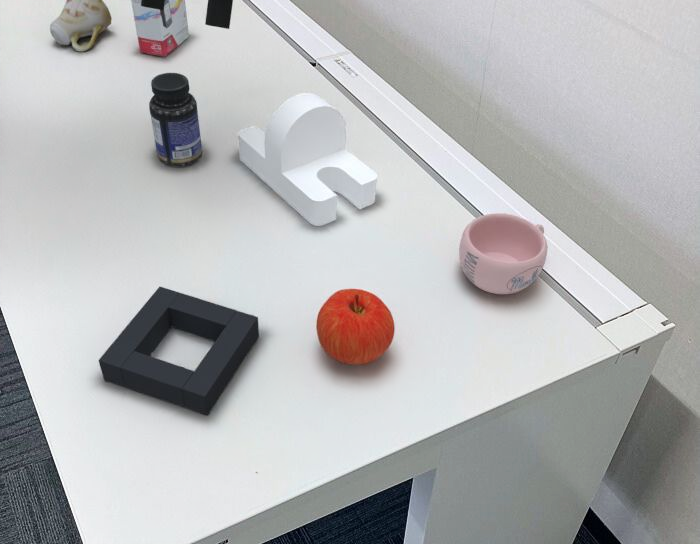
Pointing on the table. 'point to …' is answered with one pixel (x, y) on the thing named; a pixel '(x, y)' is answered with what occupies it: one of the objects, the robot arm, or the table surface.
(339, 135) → the bracket
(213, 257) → the table surface
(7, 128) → the table surface
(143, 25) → the ink box
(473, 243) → the mug
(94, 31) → the mug
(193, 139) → the pill bottle
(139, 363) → the socket pad
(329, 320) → the apple
